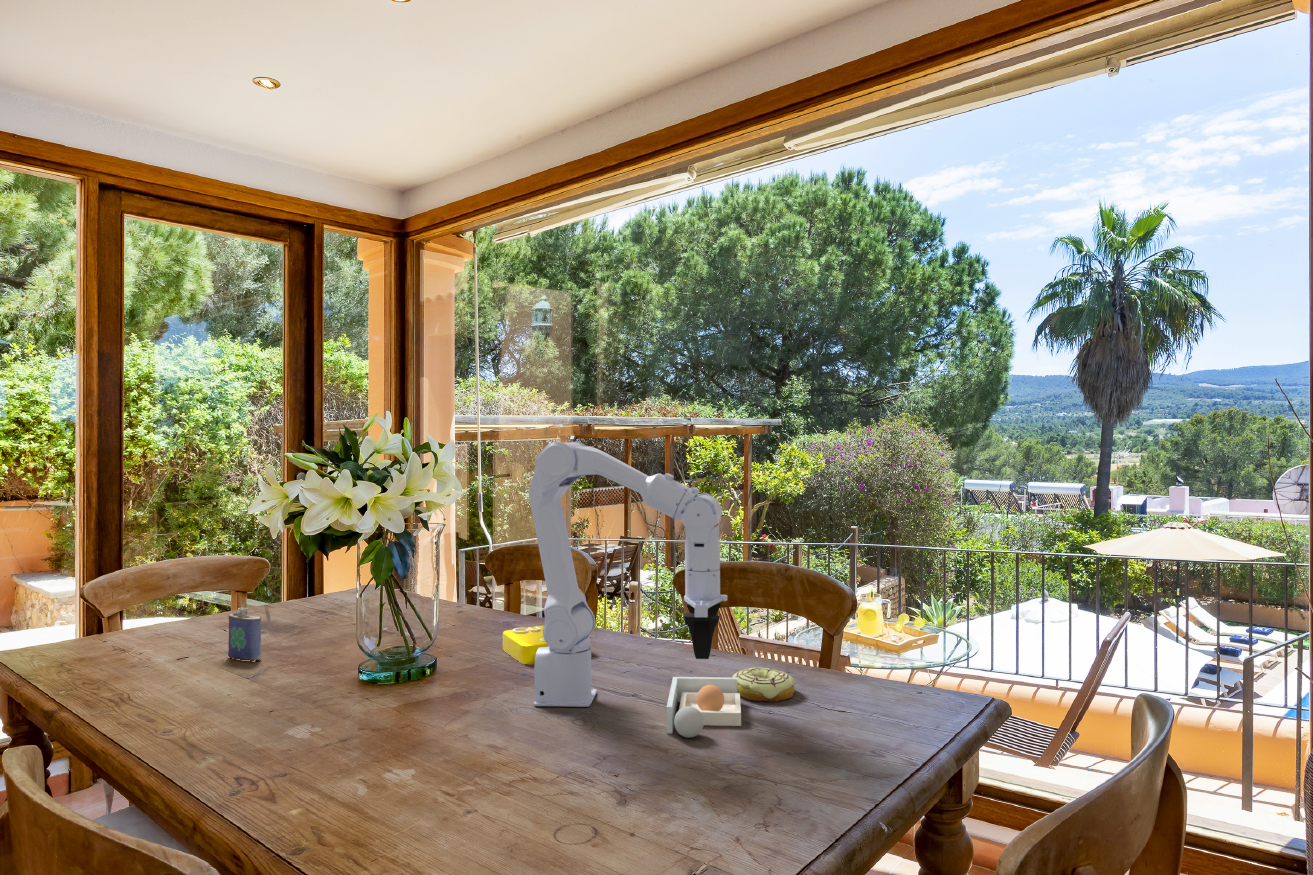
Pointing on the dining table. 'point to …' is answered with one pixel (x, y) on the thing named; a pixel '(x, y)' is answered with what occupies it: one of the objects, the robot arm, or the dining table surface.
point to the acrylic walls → (693, 686)
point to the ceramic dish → (724, 717)
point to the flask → (244, 636)
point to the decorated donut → (764, 684)
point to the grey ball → (689, 721)
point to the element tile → (524, 643)
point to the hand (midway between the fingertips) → (703, 651)
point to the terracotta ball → (710, 698)
